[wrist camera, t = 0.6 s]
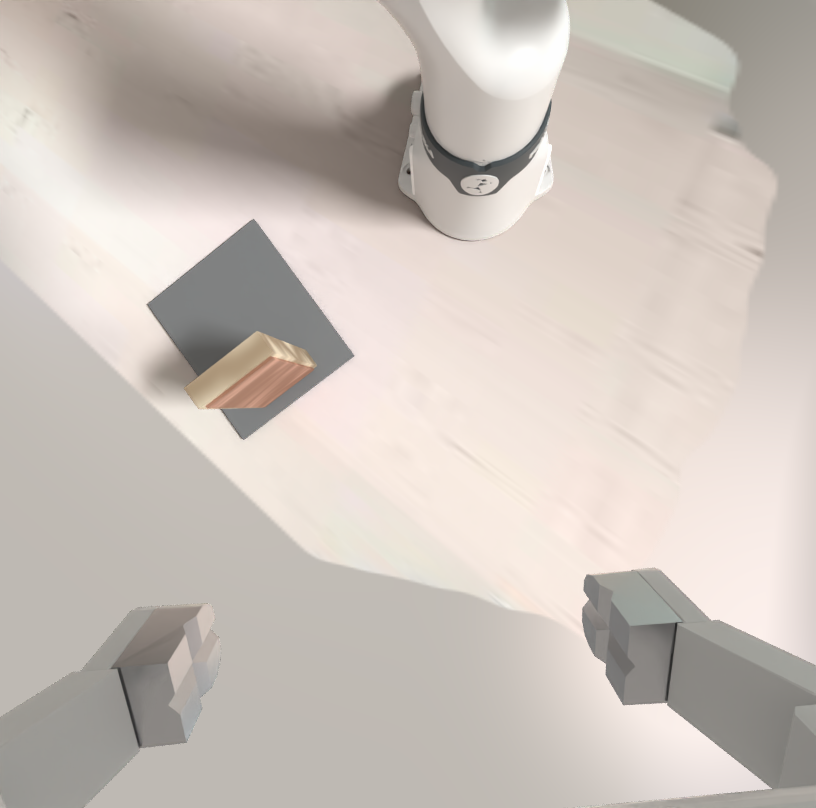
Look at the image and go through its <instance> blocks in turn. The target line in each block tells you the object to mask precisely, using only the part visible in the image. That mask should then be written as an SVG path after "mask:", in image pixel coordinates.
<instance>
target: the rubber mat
mask: <svg viewBox="0 0 816 808" xmlns="http://www.w3.org/2000/svg"><path fill="white" fill-rule="evenodd" d="M148 306H149V307H150V309H151V310H152V311H153V313H154V314H155V316H156V317H157V319H158V320H159V321H160V323H161V324H162V326H163V327H164V328H165V330H166V331H167V333H168V334H169V335H170V337H171V338H172V340H173V341H174V343H175V344H176V345H177V347H178V348H179V350H180V351H181V352H182V354H183V355H184V357H185V358H186V360H187V361H188V362H189V364H190V365H191V367H192V368H193V369H194V371H195V372H196V374H197V375H198V377H199V376H200V375H201V374H202V373H204V372H205V371H206V370H208V369H209V368H210V367H211V366H213V365H214V364H215V363H217V362H218V361H219V360H220V359H222V358H223V357H224V356H226V355H227V354H228V353H229V352H231V351H232V350H233V349H235V348H236V347H237V346H238V345H240V344H241V343H242V342H243V341H245V340H246V339H247V338H249V337H250V336H251V335H252V334H254V333H255V332H256V331H258V332H261V333H263V334H266V335H269V336H271V337H274V338H276V339H279V340H281V341H284V342H287V343H289V344H292V345H294V346H297V347H299V348H302V349H305V350H306V351H307V352H308V354H309V355H310V356H311V358H312V359H313V360H314V362H315V363H316V365H317V366H316V367H315V368H314V370H313V371H312V372H311V373H309V374H308V375H307V376H305V377H304V378H303V379H302V380H300V381H299V382H298V383H296V384H295V385H294V386H292V387H291V388H290V389H288V390H287V391H286V392H285V393H283V394H282V395H281V396H279V397H278V398H277V399H275V400H274V401H273V402H271V403H270V404H269V405H267V406H266V407H263V408H232V409H222V410H223V412H224V413H225V415H226V416H227V418H228V419H229V420H230V422H231V423H232V425H233V426H234V427H235V429H236V430H237V432H238V433H239V435H240V436H241V437H242V439H243V440H244V439H246V438H247V437H248V436H250V435H251V434H252V433H254V432H255V431H256V430H258V429H259V428H260V427H262V426H263V425H264V424H266V423H267V422H268V421H269V420H271V419H272V418H273V417H275V416H276V415H277V414H279V413H280V412H281V411H283V410H284V409H285V408H287V407H288V406H289V405H291V404H292V403H293V402H294V401H296V400H297V399H298V398H300V397H301V396H302V395H304V394H305V393H306V392H308V391H309V390H310V389H312V388H313V387H314V386H316V385H317V384H318V383H319V382H321V381H322V380H323V379H325V378H326V377H327V376H329V375H330V374H331V373H333V372H334V371H335V370H337V369H338V368H339V367H341V366H342V365H343V364H344V363H346V362H347V361H348V360H350V359H351V358H352V357H354V355H353V353H352V352H351V350H350V349H349V348H348V346H347V345H346V344H345V342H344V341H343V340H342V338H341V337H340V335H339V334H338V333H337V331H336V330H335V329H334V327H333V326H332V325H331V323H330V322H329V320H328V319H327V318H326V316H325V315H324V314H323V312H322V311H321V310H320V308H319V307H318V305H317V304H316V303H315V301H314V300H313V299H312V297H311V296H310V295H309V293H308V292H307V290H306V289H305V288H304V286H303V285H302V284H301V282H300V281H299V280H298V278H297V277H296V275H295V274H294V273H293V271H292V270H291V269H290V267H289V266H288V265H287V263H286V262H285V260H284V259H283V258H282V256H281V255H280V254H279V252H278V251H277V250H276V248H275V247H274V245H273V244H272V243H271V241H270V240H269V239H268V237H267V236H266V235H265V233H264V232H263V230H262V229H261V228H260V226H259V225H258V224H257V222H256V221H255V220H254V219H253V220H252V221H250V222H249V223H248V224H247V225H246V226H244V227H243V228H242V229H241V230H239V231H238V232H237V233H236V234H234V235H233V236H232V237H231V238H229V239H228V240H227V241H226V242H224V243H223V244H222V245H221V246H219V247H218V248H217V249H216V250H214V251H213V252H212V253H211V254H209V255H208V256H207V257H206V258H205V259H203V260H202V261H201V262H200V263H198V264H197V265H196V266H195V267H193V268H192V269H191V270H190V271H188V272H187V273H186V274H185V275H183V276H182V277H181V278H180V279H178V280H177V281H176V282H175V283H173V284H172V285H171V286H170V287H169V288H167V289H166V290H165V291H164V292H162V293H161V294H160V295H159V296H157V297H156V298H155V299H154V300H152V301H151V302H150V303H149V304H148Z"/></svg>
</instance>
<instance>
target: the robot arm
mask: <svg viewBox="0 0 816 808" xmlns="http://www.w3.org/2000/svg"><path fill="white" fill-rule="evenodd" d="M377 1H378V2H379V3H380V4H381V5H382V6H383V7H384V8H385V9H386V10H387V11H388V12H389V13H390V14H391V16H392V17H393V18H394V19H395V20H396V21H397V22H398V24H399V25H400V26H401V28H402V29H403V30H404V32H405V33H406V35H407V36H408V37H409V39H410V41H411V42H412V44H413V46H414V48H415V50H416V53H417V56H418V61H419V66H420V72H421V78H422V82H421V86H420V90H419V91H416V90H415V91H414V92H413V95H412V101H411V114H413V119H412V123H411V124H410V128H409V136H408V140H407V144H406V149H405V153H404V157H403V161H402V165H401V169H400V174H399V178H398V186H399V188H400V190H401V191H402V192H403V193H404V194H405V195H406V196H408V197H409V198H411V199H412V200H414V201H415V202H416V203H417V204H418V205H419V207H420V208H421V210H422V211H423V213H424V215H425V216H426V218H427V219H428V220H429V221H430V222H431V224H432V225H433V226H435V227H436V228H437V229H438V230H440V231H441V232H443V233H445V234H446V235H449V236H451V237H454V238H457V239H461V240H470V241H475V240H484V239H488V238H491V237H494V236H497V235H499V234H501V233H503V232H504V231H506V230H507V229H509V228H510V227H511V226H513V225H514V224H515V223H516V222H517V221H518V220H519V219H520V217H521V216H522V215H523V213H524V212H525V211H526V209H527V208H528V207H529V205H530V204H531V203H532V202H533V201H535V200H537V199H538V198H540V197H542V196H543V195H545V194H546V193H547V192H548V191H549V190H550V189H551V187H552V184H553V180H554V177H553V170H552V164H551V158H550V154H551V148H552V146H551V145H550V144H548V135H547V126H548V122H549V117H550V111H551V97H552V94H553V91H554V89H555V86H556V83H557V80H558V77H559V74H560V71H561V68H562V66H563V63H564V60H565V57H566V54H567V50H568V45H569V36H570V19H569V11H568V7H567V2H566V0H377ZM408 171H411V175H409V174H407V172H408ZM584 592H585V594H586V595H587V597H588V598H589V601H588V602H587V603H586V604H585V606H584V607H583V608H582V623H583V628H584V633H585V637H586V639H587V642H588V644H589V647H590V648H591V650H592V652H593V654H594V656H595V657H597V658H598V659H600V660H601V661H603V662H604V663H606V676H607V678H608V680H609V681H610V683H611V685H612V687H613V688H614V690H615V692H616V694H617V695H618V697H619V699H620V700H621V702H622V704H623V705H635V704H652V703H653V704H654V703H667V705H668V706H669V707H670V708H671V709H673V710H674V711H675V712H676V713H678V714H679V715H680V716H682V717H683V718H684V719H685V720H686V721H688V722H689V723H690V724H692V725H693V726H694V727H695V728H697V729H698V730H699V731H700V732H702V733H703V734H704V735H705V736H707V737H708V738H709V739H710V740H712V741H713V742H714V743H715V744H717V745H718V746H719V747H720V748H722V749H723V750H724V751H726V752H727V753H728V754H729V755H731V756H732V757H733V758H734V759H735V760H737V761H738V762H739V763H741V764H742V765H743V766H744V767H746V768H747V769H748V770H749V771H751V772H752V773H753V774H755V775H756V776H757V777H758V778H759V779H761V780H762V781H763V782H764V783H766V784H767V785H768V786H769V787H771V788H772V789H767V790H757V791H747V792H735V793H724V794H714V795H703V796H692V797H681V798H671V799H659V800H649V801H638V802H627V803H617V804H606V805H595V806H586V807H585V806H584V807H574V808H816V665H814V664H812V663H810V662H807V661H805V660H803V659H801V658H799V657H797V656H794V655H792V654H790V653H788V652H786V651H784V650H782V649H780V648H778V647H775V646H773V645H771V644H769V643H767V642H765V641H763V640H760V639H758V638H756V637H754V636H752V635H750V634H748V633H745V632H743V631H741V630H739V629H737V628H735V627H733V626H731V625H728V624H726V623H724V622H722V621H720V620H713V621H711V620H710V619H709V618H708V617H707V616H706V615H705V614H704V613H703V612H702V611H701V610H700V609H699V608H698V607H697V606H696V605H695V604H694V603H693V602H692V601H691V600H690V599H689V598H688V597H687V596H686V595H685V594H684V593H683V592H682V591H681V590H680V589H679V588H678V587H677V586H676V585H675V584H674V583H673V582H672V581H671V580H670V579H669V578H668V577H667V576H666V575H665V574H664V573H663V572H662V571H660V570H659V569H656V568H646V569H636V570H631V571H623V572H611V573H598V574H587V575H586V577H585V580H584ZM214 621H215V615H214V611H213V607H212V606H211V605H210V604H208V603H201V604H183V605H165V606H151V607H138V608H136V609H134V610H131V611H130V612H129V614H128V615H127V616H126V617H125V618H124V619H123V621H122V622H121V623H120V624H119V625H118V627H117V628H116V629H115V630H114V631H113V633H112V634H111V635H110V636H109V637H108V639H107V640H106V641H105V642H104V643H103V645H102V646H101V647H100V648H99V649H98V651H97V652H96V653H95V654H94V655H93V657H92V658H91V659H90V660H89V662H88V663H87V664H86V665H85V666H84V667H83V669H82V670H81V671H80V672H72V673H70V674H69V675H67V676H65V677H63V678H62V679H61V680H59V681H57V682H55V683H54V684H52V685H51V686H49V687H47V688H46V689H44V690H43V691H41V692H40V693H38V694H36V695H35V696H33V697H31V698H30V699H28V700H27V701H25V702H24V703H22V704H20V705H19V706H17V707H15V708H14V709H12V710H11V711H9V712H8V713H6V714H4V715H3V716H1V717H0V808H84V807H85V806H86V805H87V804H88V803H89V802H90V800H92V799H93V798H94V797H95V796H96V795H97V794H98V793H99V792H100V791H101V790H102V789H103V788H104V787H105V785H106V784H108V783H109V782H110V781H111V780H112V779H113V777H114V776H116V775H117V774H118V773H119V772H120V771H121V770H122V768H123V767H124V766H126V765H127V763H128V762H129V761H130V760H131V759H132V758H133V757H134V756H135V755H136V754H137V753H138V752H139V751H140V750H139V748H146V747H154V746H163V745H172V744H180V743H187V741H188V738H189V736H190V734H191V732H192V730H193V727H194V726H195V723H196V721H197V719H198V717H199V715H200V713H201V710H202V706H201V700H200V698H201V697H202V696H203V695H204V694H205V693H206V692H207V691H209V690H210V689H211V688H212V686H213V684H214V681H215V679H216V677H217V674H218V669H219V665H220V660H221V645H220V640H219V636H217V635H216V634H215V633H214V632H213V631H212V630H211V627H212V625H213V623H214Z"/></svg>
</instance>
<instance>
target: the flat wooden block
mask: <svg viewBox="0 0 816 808" xmlns="http://www.w3.org/2000/svg"><path fill="white" fill-rule="evenodd" d="M316 366H317V365H316V363H315V362H314V360H313V359H312V358H311V356H310V355H309V354H308V352H307V351H306V350H305V349H302V348H299V347H297V346H294V345H292V344H289V343H287V342H284V341H281V340H279V339H276V338H274V337H271V336H269V335H266V334H263V333H261V332H258V331H256V332H255V333H254V334H252V335H251V336H250V337H249V338H247V339H246V340H245V341H243V342H242V343H241V344H240V345H238V346H237V347H236V348H235V349H233V350H232V351H231V352H229V353H228V354H227V355H226V356H224V357H223V358H222V359H220V360H219V361H218V362H217V363H215V364H214V365H213V366H211V367H210V368H209V369H208V370H206V371H205V372H204V373H202V374H201V375H200V376H199V377H197V378H196V379H195V380H194V381H192V382H191V383H190V384H188V385H187V386H186V387H185V388H184V389H185V391H186V392H187V393H188V395H189V396H190V398H191V399H192V401H193V402H194V403H195V405H196V406H197V408H198V409H232V408H263V407H266V406H267V405H269V404H270V403H271V402H273V401H274V400H275V399H277V398H278V397H279V396H281V395H282V394H283V393H285V392H286V391H287V390H288V389H290V388H291V387H292V386H294V385H295V384H296V383H298V382H299V381H300V380H302V379H303V378H304V377H305V376H307V375H308V374H309V373H311V372H312V371H313V370H314V368H315V367H316Z"/></svg>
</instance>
